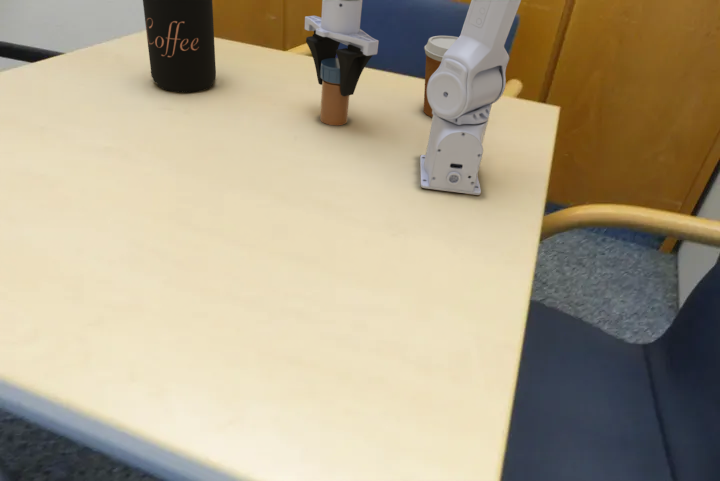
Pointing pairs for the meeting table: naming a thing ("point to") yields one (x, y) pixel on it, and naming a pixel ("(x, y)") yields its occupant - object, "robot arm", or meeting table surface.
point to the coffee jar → (181, 44)
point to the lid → (330, 70)
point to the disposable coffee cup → (434, 61)
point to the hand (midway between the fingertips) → (335, 88)
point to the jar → (333, 104)
